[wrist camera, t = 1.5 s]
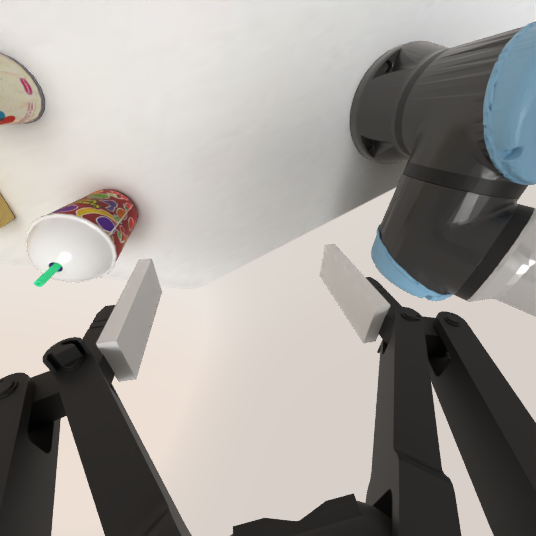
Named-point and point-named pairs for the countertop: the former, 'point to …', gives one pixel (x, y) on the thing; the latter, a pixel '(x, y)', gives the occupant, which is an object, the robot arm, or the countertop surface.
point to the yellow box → (5, 213)
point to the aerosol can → (18, 93)
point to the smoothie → (81, 237)
